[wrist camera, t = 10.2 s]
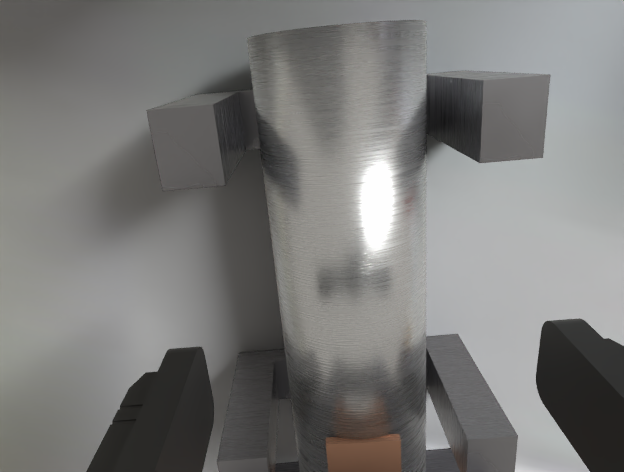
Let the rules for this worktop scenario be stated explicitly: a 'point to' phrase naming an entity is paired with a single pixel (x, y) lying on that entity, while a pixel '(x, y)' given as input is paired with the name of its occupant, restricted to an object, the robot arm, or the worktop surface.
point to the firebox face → (438, 462)
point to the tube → (349, 235)
